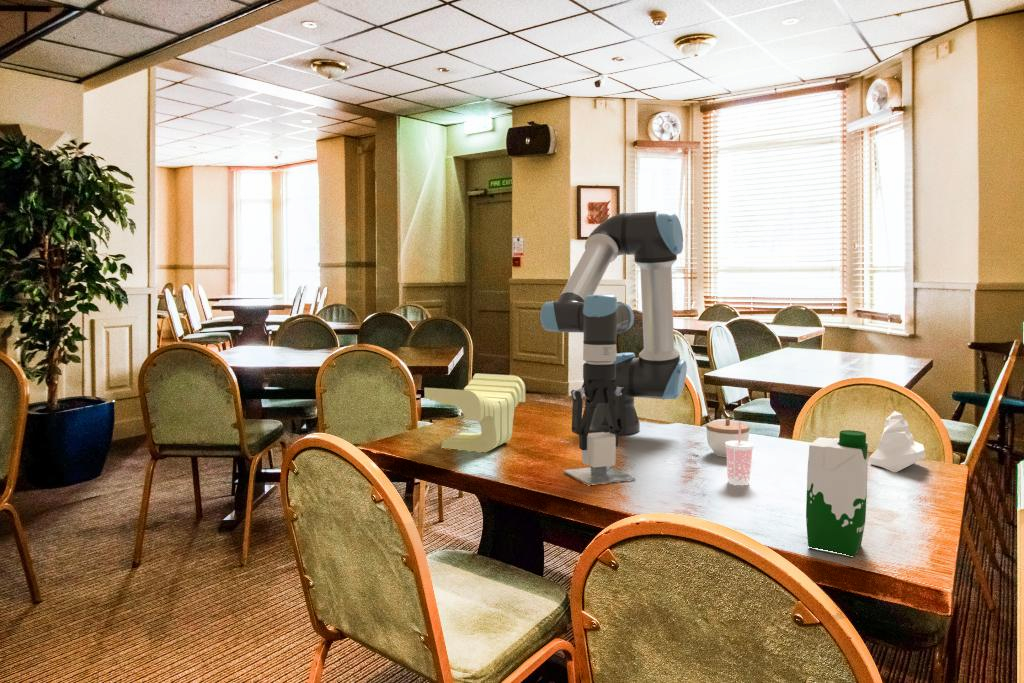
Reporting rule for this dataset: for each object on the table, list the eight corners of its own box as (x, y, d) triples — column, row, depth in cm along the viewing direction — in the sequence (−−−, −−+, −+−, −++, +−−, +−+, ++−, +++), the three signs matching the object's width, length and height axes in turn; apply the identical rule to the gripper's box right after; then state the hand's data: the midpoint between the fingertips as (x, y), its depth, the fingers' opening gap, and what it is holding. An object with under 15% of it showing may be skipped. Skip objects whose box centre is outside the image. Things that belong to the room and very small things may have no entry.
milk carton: (859, 561, 116) (864, 439, 114) (800, 549, 121) (804, 432, 119) (867, 544, 123) (872, 429, 121) (811, 534, 128) (815, 423, 126)
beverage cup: (757, 482, 160) (759, 421, 159) (745, 488, 156) (747, 425, 155) (731, 477, 164) (732, 417, 163) (719, 483, 160) (720, 421, 159)
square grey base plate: (607, 467, 174) (608, 439, 173) (635, 480, 162) (635, 449, 162) (563, 472, 169) (563, 443, 168) (588, 486, 158) (588, 455, 157)
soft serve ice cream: (864, 475, 172) (852, 416, 174) (882, 468, 183) (870, 413, 185) (921, 471, 164) (908, 409, 166) (937, 464, 175) (924, 406, 177)
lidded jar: (755, 454, 186) (756, 418, 186) (737, 462, 179) (738, 424, 178) (717, 447, 194) (718, 413, 193) (698, 454, 186) (698, 419, 185)
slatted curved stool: (480, 461, 180) (480, 391, 178) (425, 455, 186) (424, 387, 184) (525, 437, 207) (525, 376, 206) (475, 432, 213) (475, 373, 212)
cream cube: (603, 459, 169) (603, 431, 168) (615, 465, 164) (615, 436, 163) (582, 461, 167) (582, 433, 166) (593, 467, 162) (594, 438, 161)
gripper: (571, 365, 156) (570, 470, 158) (643, 362, 164) (641, 462, 165) (555, 362, 163) (555, 462, 165) (625, 359, 170) (624, 455, 172)
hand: (598, 462), depth 165 cm, fingers closed on cream cube, 6 cm apart
